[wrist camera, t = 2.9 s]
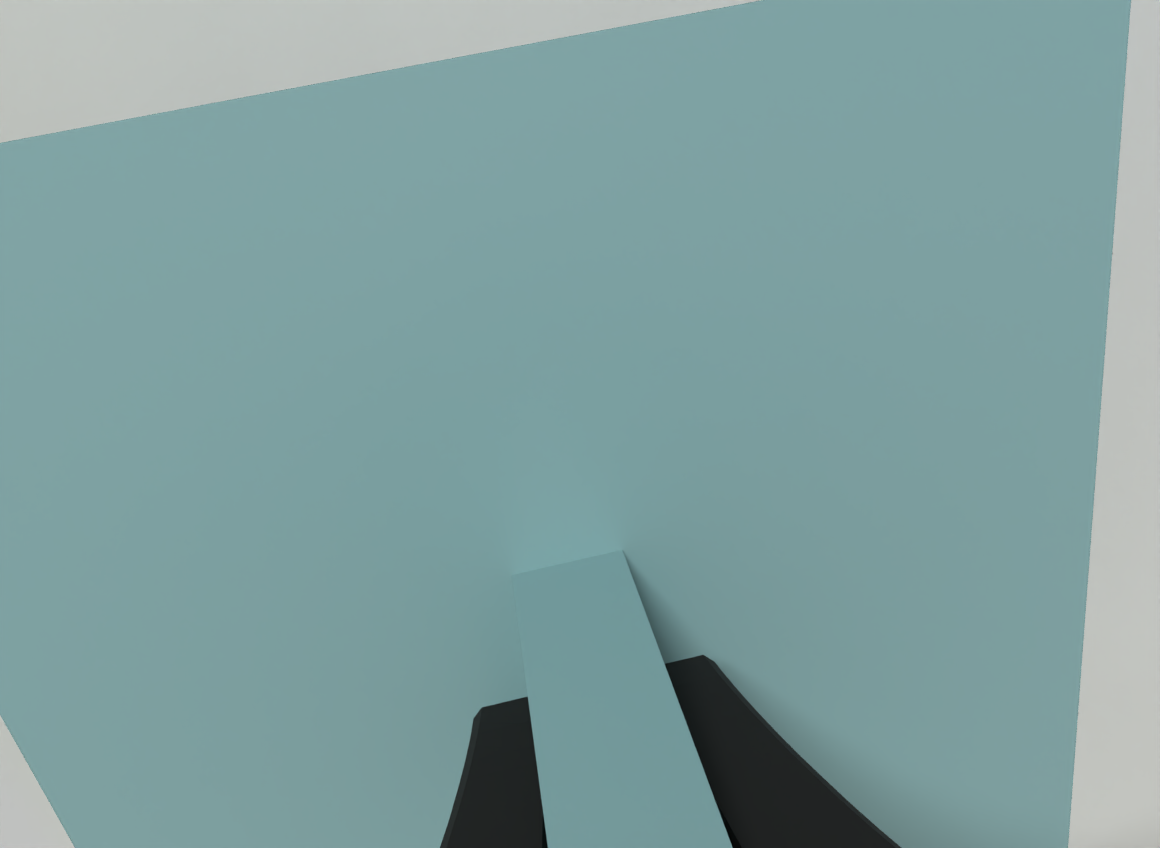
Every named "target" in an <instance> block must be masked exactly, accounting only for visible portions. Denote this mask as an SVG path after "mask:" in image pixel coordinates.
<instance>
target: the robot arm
mask: <svg viewBox="0 0 1160 848" xmlns="http://www.w3.org/2000/svg"><path fill="white" fill-rule="evenodd" d="M665 667H666V669H667V672H668V675H669V677H670V680H671V683H672V685H673V688H674V691H675V694H676V696H677V699H678V702H679V704H680V707H681V710H682V712H683V715H684V718H685V721H686V723H687V726H688V729H689V731H690V734H691V737H692V739H693V742H694V745H695V748H696V750H697V753H698V756H699V758H700V761H701V764H702V766H703V769H704V772H705V775H706V777H707V780H708V783H709V785H710V788H711V791H712V793H713V796H714V799H715V802H716V804H717V807H718V810H719V812H720V815H721V818H722V820H723V823H724V826H725V829H726V831H727V834H728V837H729V839H730V842H731V845H732V848H901V847H900V846H899V845H898V844H897V843H895V842H894V841H893V840H892V839H891V838H889V837H888V836H887V835H886V834H885V833H884V832H882V831H881V830H880V829H879V828H878V827H877V826H875V825H874V824H873V823H872V822H871V821H870V820H869V819H868V818H866V817H865V816H864V815H863V814H862V813H861V812H860V811H859V810H857V809H856V808H855V807H854V806H853V805H852V804H851V803H850V802H849V801H847V800H846V799H845V798H844V797H843V796H842V795H841V794H840V793H839V792H838V791H837V790H836V789H835V788H834V787H833V786H832V785H831V784H829V783H828V782H827V781H826V780H825V779H824V778H823V777H822V776H821V775H820V774H819V773H818V772H817V771H816V770H815V769H814V768H813V767H812V766H810V765H809V764H808V763H807V762H806V761H805V760H804V759H803V758H802V757H801V756H800V755H799V754H798V753H797V752H796V751H795V750H794V749H793V748H792V747H791V746H790V745H789V744H788V743H787V742H786V741H785V740H784V739H783V738H782V737H781V736H780V735H779V734H778V733H777V732H776V731H775V730H774V729H773V728H772V726H771V725H770V724H769V723H768V722H767V721H766V720H765V719H764V718H763V717H762V716H761V715H760V714H759V713H758V712H757V711H756V710H755V708H754V707H753V706H752V705H751V704H750V703H749V702H748V701H747V700H746V699H745V697H744V696H743V695H742V694H741V693H740V692H739V691H738V689H737V688H736V687H735V686H734V685H733V684H732V682H731V681H730V680H729V679H728V678H727V677H726V675H725V674H724V673H723V672H722V670H721V669H720V668H719V667H718V665H717V664H716V663H715V661H713V660H711V659H710V658H708V657H706V656H705V655H700V656H696V657H691V658H687V659H683V660H679V661H675V662H670V663H666V664H665ZM440 848H548V844H547V837H546V829H545V822H544V814H543V807H542V799H541V792H540V784H539V777H538V769H537V762H536V754H535V747H534V739H533V732H532V724H531V717H530V710H529V702H528V697H523V698H519V699H515V700H511V701H507V702H502V703H498V704H494V705H490V706H486V707H482V708H481V709H480V710H479V712H478V713H477V714H476V716H475V717H474V718H473V724H472V730H471V736H470V741H469V746H468V750H467V755H466V759H465V763H464V768H463V772H462V775H461V779H460V783H459V787H458V790H457V794H456V797H455V801H454V804H453V808H452V811H451V815H450V818H449V821H448V825H447V828H446V831H445V834H444V837H443V840H442V843H441V846H440Z"/></svg>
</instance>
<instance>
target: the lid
mask: <svg viewBox="0 0 1160 848" xmlns="http://www.w3.org/2000/svg"><path fill="white" fill-rule="evenodd" d="M1130 6H1131V0H761V1H756V2H751V3H745V4H740V5H735V6H729V7H724V8H719V9H713V10H708V11H703V12H697V13H692V14H687V15H681V16H676V17H671V18H665V19H660V20H655V21H649V22H644V23H639V24H633V25H628V26H623V27H617V28H612V29H607V30H601V31H596V32H591V33H585V34H580V35H574V36H569V37H564V38H558V39H553V40H548V41H542V42H537V43H532V44H526V45H521V46H516V47H510V48H505V49H500V50H494V51H489V52H484V53H478V54H473V55H468V56H462V57H457V58H452V59H446V60H441V61H436V62H430V63H425V64H420V65H414V66H409V67H404V68H398V69H393V70H388V71H382V72H377V73H372V74H366V75H361V76H356V77H350V78H345V79H340V80H334V81H329V82H324V83H318V84H313V85H308V86H302V87H297V88H291V89H286V90H281V91H275V92H270V93H265V94H259V95H254V96H249V97H243V98H238V99H233V100H227V101H222V102H217V103H211V104H206V105H201V106H195V107H190V108H185V109H179V110H174V111H169V112H163V113H158V114H153V115H147V116H142V117H137V118H131V119H126V120H121V121H115V122H110V123H105V124H99V125H94V126H89V127H83V128H78V129H73V130H67V131H62V132H57V133H51V134H46V135H40V136H35V137H30V138H24V139H19V140H14V141H8V142H3V143H0V715H1V717H2V719H3V721H4V722H5V724H6V726H7V728H8V730H9V731H10V733H11V735H12V737H13V738H14V740H15V742H16V744H17V745H18V747H19V749H20V751H21V753H22V754H23V756H24V758H25V760H26V761H27V763H28V765H29V767H30V769H31V770H32V772H33V774H34V776H35V777H36V779H37V781H38V783H39V785H40V786H41V788H42V790H43V792H44V793H45V795H46V797H47V799H48V801H49V802H50V804H51V806H52V808H53V809H54V811H55V813H56V815H57V817H58V818H59V820H60V822H61V824H62V825H63V827H64V829H65V831H66V832H67V834H68V836H69V838H70V840H71V841H72V843H73V845H74V847H75V848H440V846H441V843H442V840H443V837H444V834H445V831H446V828H447V825H448V821H449V818H450V815H451V811H452V808H453V804H454V801H455V797H456V794H457V790H458V787H459V783H460V779H461V775H462V772H463V768H464V763H465V759H466V755H467V750H468V746H469V741H470V736H471V730H472V724H473V718H474V717H475V716H476V714H477V713H478V712H479V710H480V709H481V708H482V707H486V706H490V705H494V704H498V703H502V702H507V701H511V700H515V699H519V698H523V697H528V702H529V710H530V717H531V724H532V732H533V739H534V747H535V754H536V762H537V769H538V777H539V784H540V792H541V799H542V807H543V814H544V822H545V829H546V837H547V844H548V848H732V845H731V842H730V839H729V837H728V834H727V831H726V829H725V826H724V823H723V820H722V818H721V815H720V812H719V810H718V807H717V804H716V802H715V799H714V796H713V793H712V791H711V788H710V785H709V783H708V780H707V777H706V775H705V772H704V769H703V766H702V764H701V761H700V758H699V756H698V753H697V750H696V748H695V745H694V742H693V739H692V737H691V734H690V731H689V729H688V726H687V723H686V721H685V718H684V715H683V712H682V710H681V707H680V704H679V702H678V699H677V696H676V694H675V691H674V688H673V685H672V683H671V680H670V677H669V675H668V672H667V669H666V667H665V664H666V663H670V662H675V661H679V660H683V659H687V658H691V657H696V656H700V655H705V656H706V657H708V658H710V659H711V660H713V661H715V663H716V664H717V665H718V667H719V668H720V669H721V670H722V672H723V673H724V674H725V675H726V677H727V678H728V679H729V680H730V681H731V682H732V684H733V685H734V686H735V687H736V688H737V689H738V691H739V692H740V693H741V694H742V695H743V696H744V697H745V699H746V700H747V701H748V702H749V703H750V704H751V705H752V706H753V707H754V708H755V710H756V711H757V712H758V713H759V714H760V715H761V716H762V717H763V718H764V719H765V720H766V721H767V722H768V723H769V724H770V725H771V726H772V728H773V729H774V730H775V731H776V732H777V733H778V734H779V735H780V736H781V737H782V738H783V739H784V740H785V741H786V742H787V743H788V744H789V745H790V746H791V747H792V748H793V749H794V750H795V751H796V752H797V753H798V754H799V755H800V756H801V757H802V758H803V759H804V760H805V761H806V762H807V763H808V764H809V765H810V766H812V767H813V768H814V769H815V770H816V771H817V772H818V773H819V774H820V775H821V776H822V777H823V778H824V779H825V780H826V781H827V782H828V783H829V784H831V785H832V786H833V787H834V788H835V789H836V790H837V791H838V792H839V793H840V794H841V795H842V796H843V797H844V798H845V799H846V800H847V801H849V802H850V803H851V804H852V805H853V806H854V807H855V808H856V809H857V810H859V811H860V812H861V813H862V814H863V815H864V816H865V817H866V818H868V819H869V820H870V821H871V822H872V823H873V824H874V825H875V826H877V827H878V828H879V829H880V830H881V831H882V832H884V833H885V834H886V835H887V836H888V837H889V838H891V839H892V840H893V841H894V842H895V843H897V844H898V845H899V846H900V847H901V848H1068V840H1069V826H1070V813H1071V799H1072V786H1073V772H1074V759H1075V745H1076V732H1077V719H1078V705H1079V692H1080V678H1081V665H1082V651H1083V638H1084V624H1085V611H1086V597H1087V584H1088V571H1089V557H1090V544H1091V530H1092V517H1093V503H1094V490H1095V476H1096V463H1097V449H1098V436H1099V423H1100V409H1101V396H1102V382H1103V369H1104V355H1105V342H1106V328H1107V315H1108V301H1109V288H1110V275H1111V261H1112V248H1113V234H1114V221H1115V207H1116V194H1117V180H1118V167H1119V154H1120V140H1121V127H1122V113H1123V100H1124V86H1125V73H1126V59H1127V46H1128V32H1129V19H1130Z"/></svg>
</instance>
